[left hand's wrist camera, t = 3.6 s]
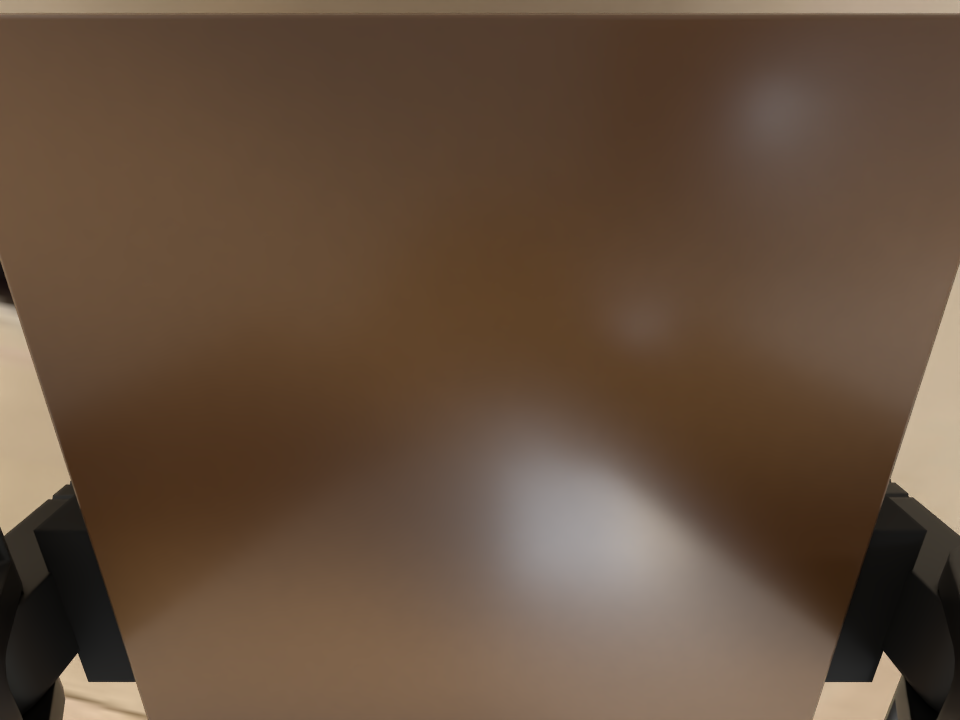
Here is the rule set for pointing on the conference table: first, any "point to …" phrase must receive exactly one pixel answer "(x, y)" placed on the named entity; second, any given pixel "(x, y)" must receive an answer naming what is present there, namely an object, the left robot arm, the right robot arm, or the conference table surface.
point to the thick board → (480, 344)
